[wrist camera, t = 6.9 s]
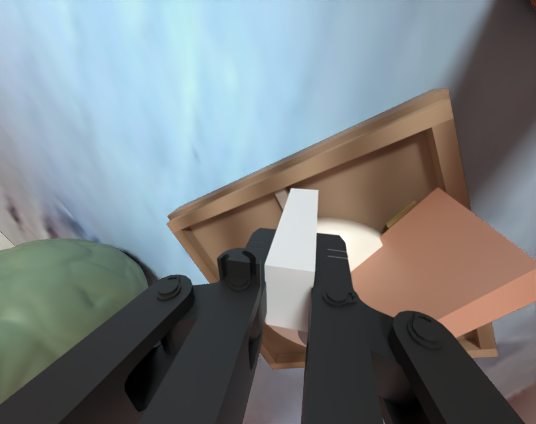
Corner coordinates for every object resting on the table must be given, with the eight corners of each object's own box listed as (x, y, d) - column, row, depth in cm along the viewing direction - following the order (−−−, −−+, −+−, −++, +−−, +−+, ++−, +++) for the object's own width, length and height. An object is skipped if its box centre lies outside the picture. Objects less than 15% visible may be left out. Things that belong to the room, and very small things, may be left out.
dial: (336, 349, 23) (343, 458, 16) (231, 284, 22) (189, 370, 15) (514, 242, 14) (697, 377, 7) (355, 127, 13) (392, 157, 6)
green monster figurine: (97, 303, 34) (-140, 519, 16) (45, 190, 25) (-580, 396, 8) (189, 327, 31) (24, 612, 14) (168, 210, 22) (-357, 589, 5)
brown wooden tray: (431, 89, 14) (458, 87, 11) (481, 326, 21) (504, 359, 18) (179, 207, 22) (160, 221, 19) (275, 346, 29) (271, 371, 26)
